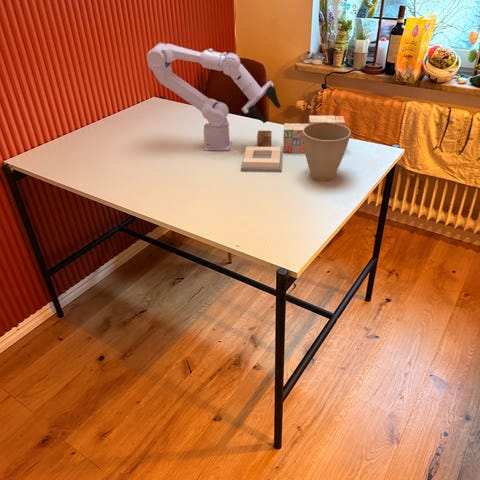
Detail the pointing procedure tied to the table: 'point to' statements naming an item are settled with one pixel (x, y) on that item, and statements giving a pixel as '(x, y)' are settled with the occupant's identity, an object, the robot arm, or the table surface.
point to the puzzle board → (262, 159)
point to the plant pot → (325, 148)
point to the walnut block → (264, 138)
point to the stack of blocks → (295, 132)
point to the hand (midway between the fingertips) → (272, 114)
